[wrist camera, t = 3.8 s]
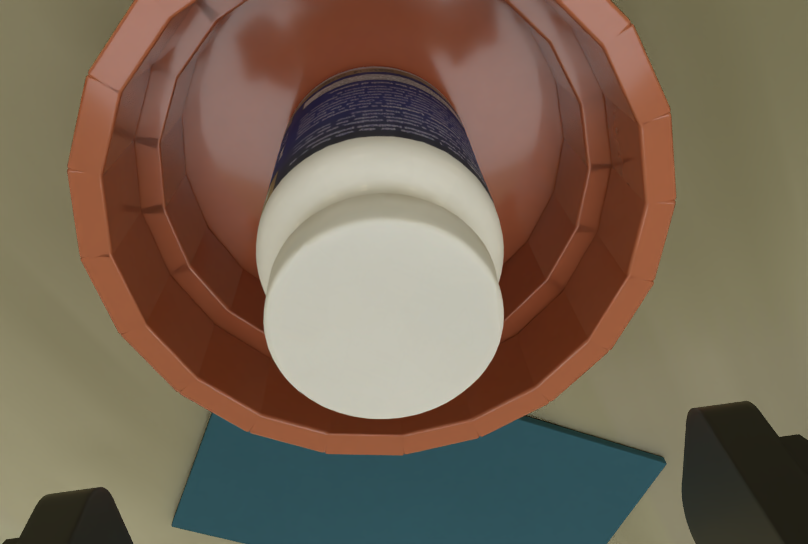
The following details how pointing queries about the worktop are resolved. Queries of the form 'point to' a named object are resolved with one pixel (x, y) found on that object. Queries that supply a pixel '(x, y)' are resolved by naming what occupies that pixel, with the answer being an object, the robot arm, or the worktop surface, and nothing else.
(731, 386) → the worktop surface
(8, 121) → the worktop surface
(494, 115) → the pot
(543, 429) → the towel
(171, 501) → the worktop surface
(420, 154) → the pill bottle
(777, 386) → the worktop surface
